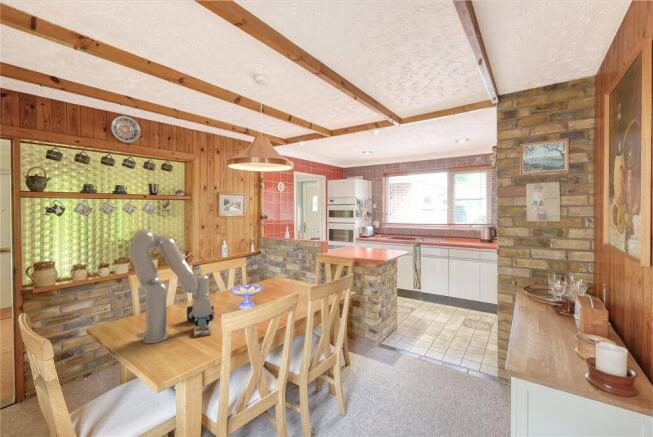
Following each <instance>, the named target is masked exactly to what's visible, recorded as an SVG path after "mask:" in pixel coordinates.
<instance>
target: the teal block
mask: <svg viewBox="0 0 653 437" xmlns="http://www.w3.org/2000/svg"><path fill="white" fill-rule="evenodd" d="M200 326H206V316H201V317H198V327H200Z"/></svg>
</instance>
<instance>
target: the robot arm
mask: <svg viewBox="0 0 653 437" xmlns="http://www.w3.org/2000/svg"><path fill="white" fill-rule="evenodd" d="M150 248H151V249H155V250H159V251H160V252H161V254H162V256H163V258H164V259H165V262H166V263H167V265H168V267H169V269H170V270H171V271H172V272H173V274H174V275H176V277H177V278H178V280H179V286H180V288H181V289H182V290H184V291H185V292H186V293H190V294H191V293H194V294H193V295H192V298H193V301H192V306H193V310H192V312H191V313H190V314H189V317H190V318H192V319H193V320H194V321H195V322H194V326H195V327H198V320H197V318H198V317H201V316H206V317H207V319H206V326H207V325H210V321H209V319H210V318H211V317H212V315H214V316H215V313H216V311H215V310H214V311H213V309H212V308H211V306H212V302H211V298H210V296H209V294H210V292H209V290H210V289H209V287H210V285H209V283H210V281H209V280H210V278H209V275H206V274H204V275H203V274H202V275H201V274H200V275H198V276H196V275H195V274H194V273H193V271H192V270H191V268H190V266H189V265H188V262H187V261H186V260H185V258H184V255H183V254H182V252H181V250H180V248H179V247H178V245H177V243H176V241H175V240H174V239H173V237H169V236H166V235H164V234H163V235H162V234H159V233H157V232H153V231H150V230H147V229H138V230H137V231H135V232H134V234H133V240H132V241H131V243H130V246H129V249H128V251H129V252H128V253H129V256H130V259H131V261H132V264H133V267H134V268H135V269H134V273H135V276H136V277H137V280H138V282H139V284H140V286H141V288H142V290H143V292H144V293H145V297H146V299H145V329H146V330H145V331H143V332H138V333H137V332H136V337H137V338H138V339H140V338H141V339H142V342H143V343H145V344H156V343H161V342H164V341H165V340H167V339H169V338H170V336H171V335H170V333H169V332H168V331H167V294H168V291H167V287H166V284H165V283H164V282H163V281H162V280H161V279H160V275H159V274H158V268H157V266H156V265H155V263H154V261H153V258H152V256H151V253H150ZM211 312H212V313H211ZM192 314H193V316H192Z"/></svg>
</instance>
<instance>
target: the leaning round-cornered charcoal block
mask: <svg viewBox="0 0 653 437" xmlns="http://www.w3.org/2000/svg"><path fill="white" fill-rule="evenodd" d="M211 308H212V309H213V311H214V312H215V307H214V305H211ZM192 310H193V305H189V306H187V307H186V321H187V322H191V323H195V321H194V320H193V319H192V318H190V317H189V314H190V313H191V312H192ZM211 313H212V312H211ZM192 316H193V314H192ZM214 316H215V314H214V315H212V317H211V318H210V319H209V322H210V321H213V320H214V318H215V317H214ZM206 319H207V317H206ZM197 320H198V318H197Z"/></svg>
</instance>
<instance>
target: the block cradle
mask: <svg viewBox="0 0 653 437" xmlns="http://www.w3.org/2000/svg"><path fill="white" fill-rule="evenodd" d="M192 336H193V338H199V337H206V336H211V327H210V324H208V325H207V326H200V327H196V326H195V327H194V329H193V335H192Z"/></svg>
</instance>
